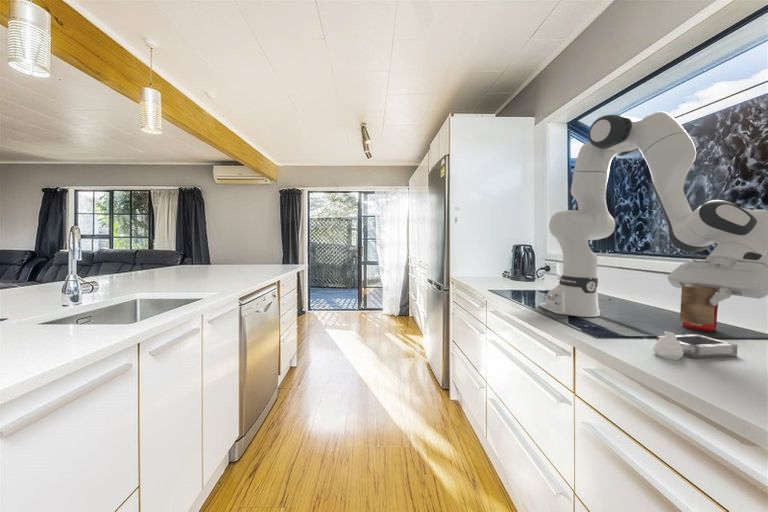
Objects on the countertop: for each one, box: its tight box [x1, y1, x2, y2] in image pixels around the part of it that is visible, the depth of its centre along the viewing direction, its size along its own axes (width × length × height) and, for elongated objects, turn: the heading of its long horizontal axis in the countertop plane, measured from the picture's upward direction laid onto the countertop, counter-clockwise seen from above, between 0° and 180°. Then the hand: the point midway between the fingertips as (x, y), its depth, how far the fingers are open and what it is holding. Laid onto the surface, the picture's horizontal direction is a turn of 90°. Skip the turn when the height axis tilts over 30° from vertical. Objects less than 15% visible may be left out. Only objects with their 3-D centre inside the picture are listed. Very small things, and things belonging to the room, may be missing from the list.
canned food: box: [681, 302, 719, 332], centre depth 106 cm, size 8×8×11 cm
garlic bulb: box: [653, 331, 684, 361], centre depth 80 cm, size 6×6×5 cm
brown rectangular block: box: [679, 286, 716, 325], centre depth 83 cm, size 4×5×9 cm
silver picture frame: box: [656, 333, 739, 360], centre depth 84 cm, size 9×13×3 cm
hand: (697, 301), depth 83 cm, fingers closed on brown rectangular block, 4 cm apart
